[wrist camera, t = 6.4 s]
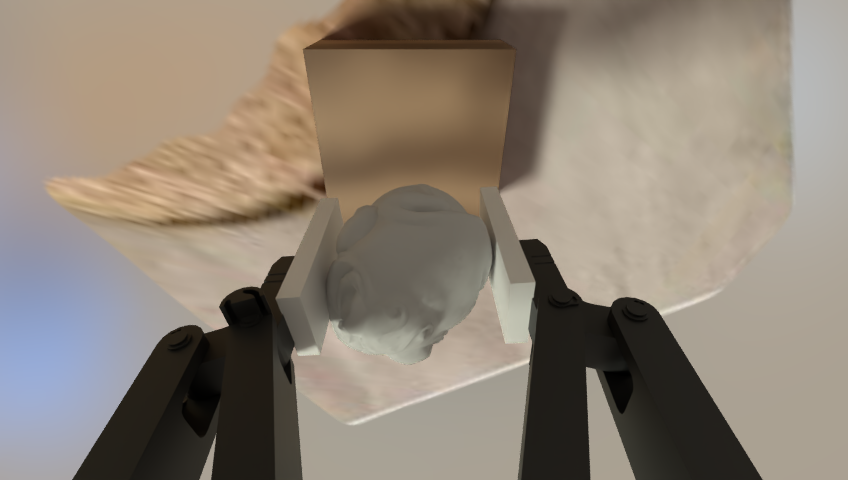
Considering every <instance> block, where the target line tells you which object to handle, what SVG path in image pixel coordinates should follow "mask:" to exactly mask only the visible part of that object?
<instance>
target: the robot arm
mask: <svg viewBox="0 0 848 480" xmlns="http://www.w3.org/2000/svg"><path fill="white" fill-rule="evenodd" d="M479 217H480V218H481V219H482V220H483V222H484V223H485V225H486V228H487V231H488V235H489V238H490V241H491V245H492V249H493V263H492V266H491V269H490V272H489V275H488V276H489V280H490V284H491V288H492V292H493V296H494V300H495V304H496V308H497V312H498V316H499V320H500V324H501V328H502V332H503V336H504V340H505V344H509V343H526V342H528V336H529V333H530V336H531V339H532V348H531V355H530V362H529V365H530V367H529V377H528V386H527V396H526V406H525V415H524V425H523V434H522V444H521V454H520V463H519V473H518V480H590V461H589V460H590V459H589V435H588V410H587V385H586V367H589V368H594V369H596V371H597V374H598V377H599V380H600V382H601V384H602V388H603V391H604V393H605V396H606V399H607V402H608V404H609V407H610V410H611V413H612V415H613V418H614V421H615V424H616V426H617V429H618V432H619V434H620V437H621V440H622V443H623V445H624V448H625V451H626V454H627V456H628V459H629V462H630V465H631V467H632V470H633V473H634V476H635V479H636V480H762V478H761V476H760V475H759V473H758V472H757V470H756V468H755V467H754V465H753V463H752V462H751V460H750V459H749V457H748V455H747V454H746V452H745V451H744V449H743V447H742V446H741V444H740V442H739V441H738V439H737V438H736V436H735V434H734V433H733V431H732V430H731V428H730V426H729V425H728V423H727V422H726V420H725V418H724V417H723V415H722V413H721V412H720V410H719V409H718V407H717V405H716V404H715V402H714V401H713V399H712V397H711V396H710V394H709V393H708V391H707V389H706V388H705V386H704V385H703V383H702V382H701V380H700V378H699V376H698V375H697V373H696V372H695V370H694V368H693V367H692V365H691V363H690V362H689V360H688V359H687V357H686V355H685V354H684V352H683V351H682V349H681V347H680V346H679V344H678V342H677V341H676V339H675V338H674V336H673V334H672V333H671V331H670V330H669V328H668V326H667V325H666V323H665V322H664V320H663V318H662V317H661V315H660V313H659V312H658V311H657V310H656V309H655V308H654V307H653V306H652V305H650V304H649V303H647V302H645V301H643V300H640V299H637V298H630V297H625V298H619V299H617V300H615V301H614V302H613V304H612V306H611V307H606V306H600V305H594V304H590V303H587V302H584V301H582V299H581V297H580V296H579V295H578V294H577V293H576V292H574V291H572V290H570V289H568V288H567V286H566V284H565V282H564V280H563V278H562V276H561V274H560V272H559V270H558V268H557V266H556V264H554V260H553V258H552V257H551V254H550V252H549V250H548V248H547V246H546V245H544V244H543V243H542V242H540V241H539V240H538V239H530V240H518V238H517V235H516V233H515V230H514V228H513V225H512V223H511V220H510V218H509V215H508V213H507V210H506V208H505V205H504V203H503V200H502V198H501V196H500V193H499V191H498V188H497V186H496V187H481V188H480V212H479ZM343 225H344V223H343V219H342V215H341V210H340V206H339V201H338V198H324V199H321V200H320V202H319V205H318V207H317V209H316V211H315V213H314V215H313V218H312V220H311V222H310V224H309V226H308V229H307V231H306V233H305V235H304V237H303V240H302V242H301V244H300V246H299V248H298V250H297V253H296V255H295V256H286V257H281V258H280V259H279V260H278V261H277V262H275V263H274V264H273V265H272V267H271V269H270V271H269V273H268V276H267V277H266V279H265V280H264V283H263V284H262V286H261V288H258V287H245V288H241V289H239V290H236V291H234V292H232V293H231V294H229V295H227V296H226V297H225V298H224V299H223V301H222V302H221V304H220V306H219V308H220V309H221V311H222V313H223V315H224V317H225V319H226V321H227V323H228V325H229V326H228V327H225V328H222V329H219V330H215V331H212V332H208V333H205V334H204V332H203V331H202V329H201V328H200V327H198V326H196V325H188V326H184V327H180V328H177V329H175V330H173V331H171V332H170V333H168V334H167V335H166V336H164V337H163V338H162V339H161V340H160V342H159V343H158V344H157V345H156V347H155V349H154V350H153V352H152V353H151V355H150V357H149V358H148V360H147V361H146V363H145V365H144V366H143V368H142V369H141V371H140V372H139V374H138V376H137V377H136V379H135V380H134V382H133V384H132V385H131V387H130V388H129V390H128V392H127V393H126V395H125V396H124V398H123V400H122V401H121V403H120V404H119V406H118V408H117V409H116V411H115V412H114V414H113V416H112V417H111V419H110V420H109V422H108V424H107V425H106V427H105V428H104V430H103V431H102V433H101V435H100V436H99V438H98V439H97V441H96V443H95V444H94V446H93V447H92V449H91V451H90V452H89V454H88V456H87V457H86V459H85V460H84V462H83V463H82V465H81V467H80V468H79V470H78V471H77V473H76V475H75V476H74V478H73V479H72V480H199V479H200V476H201V474H202V471H203V468H204V465H205V463H206V460H207V457H208V454H209V452H210V449H211V446H212V444H213V441H214V438H215V435H216V444H215V452H214V460H213V469H212V477H211V480H302V467H301V454H300V439H299V426H298V413H297V399H296V386H295V373H294V364H293V361H292V359H291V354H292V351H293V348H294V346H295V348H296V351H297V353H298V356H306V355H320V353H321V349H322V345H323V341H324V338H325V334H326V330H327V326H328V323H329V319H330V318H329V313H328V308H327V301H326V280H327V275H328V272H329V268H330V266H331V264H332V262H333V261H335V260H336V259H337V256H338V254H337V252H336V241H337V237H338V234H339V232H340V231H341V229H342V227H343ZM216 433H217V434H216Z"/></svg>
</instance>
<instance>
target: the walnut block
mask: <svg viewBox="0 0 848 480" xmlns="http://www.w3.org/2000/svg"><path fill="white" fill-rule="evenodd" d="M303 53H304V59H305V65H306V71H307V77H308V83H309V89H310V95H311V102H312V108H313V114H314V120H315V126H316V132H317V138H318V144H319V150H320V156H321V163H322V169H323V175H324V181H325V187H326V193H327V198H338V201H339V206H340V210H341V215H342V219H343V223H344V224H345V222H346V221H347V220H348V219H350V218H351V217H352V216H354V213H355V211H356V210H357V209H358V208H360V207H362V206H365V205H372V204H373V203H374V202H375V201H376V200H377V199H378V198H379V197H381V196H382V195H383V194H385V193H387V192H389V191H390V190H393V189H396V188H398V187H403V186H408V185H417V184H427V185H429V186H431V187H434V188H437V189H439V190H442V191H444V192H446V193H448V194H449V195H450V196H452V197H453V198H455V199H456V200H457V201H458V202H459V203H460V204H461V205H462V206H463V207H464V209H465V210H466V212H467V213H468V214H472V215H476V216H478V217H479V212H480V188H481V187H496V186H497V188H499V181H500V173H501V165H502V157H503V150H504V142H505V134H506V126H507V118H508V111H509V103H510V95H511V87H512V80H513V72H514V64H515V56H516V49H515V48H513V47H512V46H510V45H508V44H507V43H505V42H503V41H502V40H319V41H318V42H316V43H314V44H312V45H310V46H308V47H306V48H305V49H303Z"/></svg>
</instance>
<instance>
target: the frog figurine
mask: <svg viewBox="0 0 848 480" xmlns="http://www.w3.org/2000/svg"><path fill="white" fill-rule="evenodd" d="M336 252H337V254H338V256H337V259H336V260H335V261H333V262H332V264H331V266H330V268H329V272H328V275H327V280H326V301H327V308H328V313H329V318H330V321H331V324H332V327H333V330H334V332H335V334H336V336H337V337H338V339H339V340H340V341H341V342H343V343H344V344H345V345H346V346H348V347H349V348H352V349H354V350H356V351H359V352H363V353H365V354H369V355H387V356H388V357H389V358H391V359H392V360H394V361H396V362H398V363H402V364H404V365H412V364H415V363H417V362H420V361H423V360H424V359H426V358H428V357H429V356H430V353H431V350H432V346H433V344H435V343H439V342H440V341H441V340H443V338H444V335H446V334H447V333H448V330H450V329H451V328H453V327H454V326H455V325H457V324H458V323H460V322H461V321H462V320H464V319H465V318H466V316H467V315H468V314H469V313H470V312H471V310H472V308H473V307H474V306H475V303H476V300H477V298H478V294H479V291H480V290H481V289H482V288H483V287H484V285H485V283H486V281H487V279H488V275H489V272H490V269H491V266H492V263H493V249H492V245H491V241H490V238H489V235H488V231H487V228H486V225H485V223H484V222H483V220H482V219H481V218H480V217H478V216H476V215H472V214H468V213H467V212H466V210H465V209H464V207H463V206H462V205H461V204H460V203H459V202H458V201H457V200H456V199H455V198H453V197H452V196H450V195H449V194H448V193H446V192H444V191H442V190H439V189H437V188H434V187H431V186H429V185H427V184H417V185H408V186H403V187H398V188H396V189H393V190H390V191H389V192H387V193H385V194H383V195H382V196H381V197H379V198H378V199H377V200H376V201H375V202H374V203H373V204H372V205H365V206H362V207H360V208H358V209H357V210H356V211H355V213H354V216H352V217H351V218H350V219H348V220H347V221H346V222H345V224H344V225H343V227H342V229H341V231H340V232H339V234H338V237H337V241H336Z"/></svg>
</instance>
